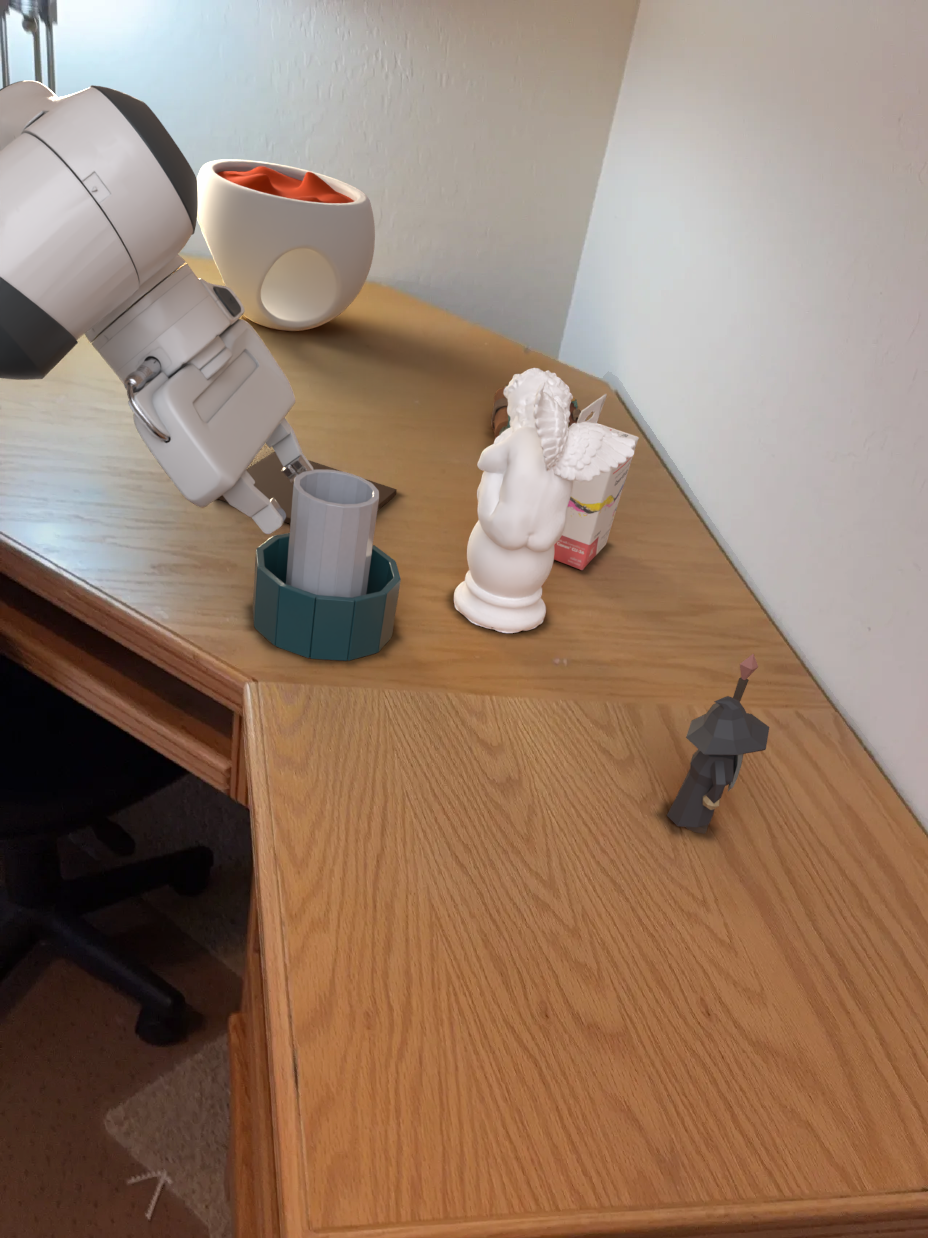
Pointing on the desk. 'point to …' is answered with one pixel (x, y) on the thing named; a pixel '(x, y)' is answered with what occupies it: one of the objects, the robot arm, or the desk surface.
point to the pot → (286, 240)
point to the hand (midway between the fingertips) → (292, 502)
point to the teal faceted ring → (323, 608)
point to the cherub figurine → (529, 500)
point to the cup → (331, 533)
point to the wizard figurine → (717, 755)
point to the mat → (280, 487)
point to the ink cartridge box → (591, 505)
